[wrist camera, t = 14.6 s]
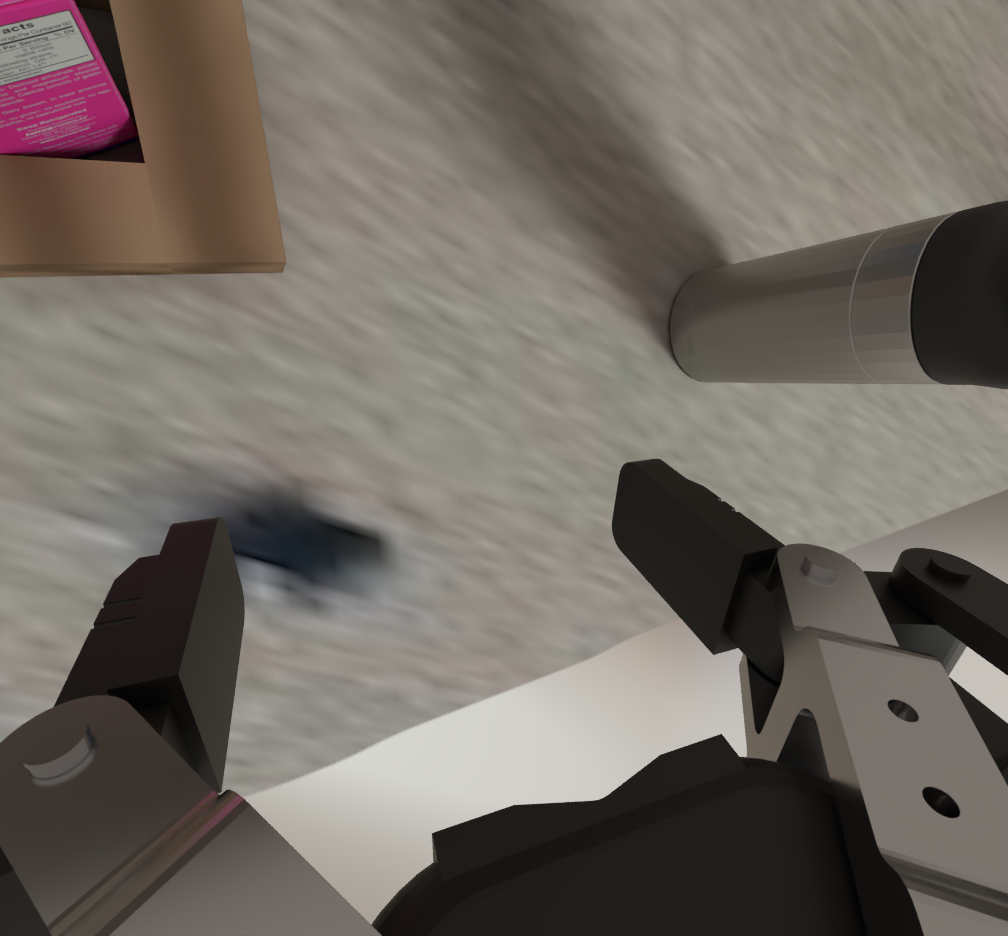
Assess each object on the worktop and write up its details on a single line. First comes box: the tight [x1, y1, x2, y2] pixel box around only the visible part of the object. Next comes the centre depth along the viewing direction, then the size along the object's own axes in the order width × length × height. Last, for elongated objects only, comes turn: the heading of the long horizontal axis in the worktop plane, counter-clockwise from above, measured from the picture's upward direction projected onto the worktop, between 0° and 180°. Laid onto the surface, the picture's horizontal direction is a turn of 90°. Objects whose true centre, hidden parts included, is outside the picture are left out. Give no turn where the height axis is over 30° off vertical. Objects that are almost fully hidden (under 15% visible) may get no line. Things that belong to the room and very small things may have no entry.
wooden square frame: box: [0, 0, 286, 277], centre depth 22 cm, size 18×16×3 cm
